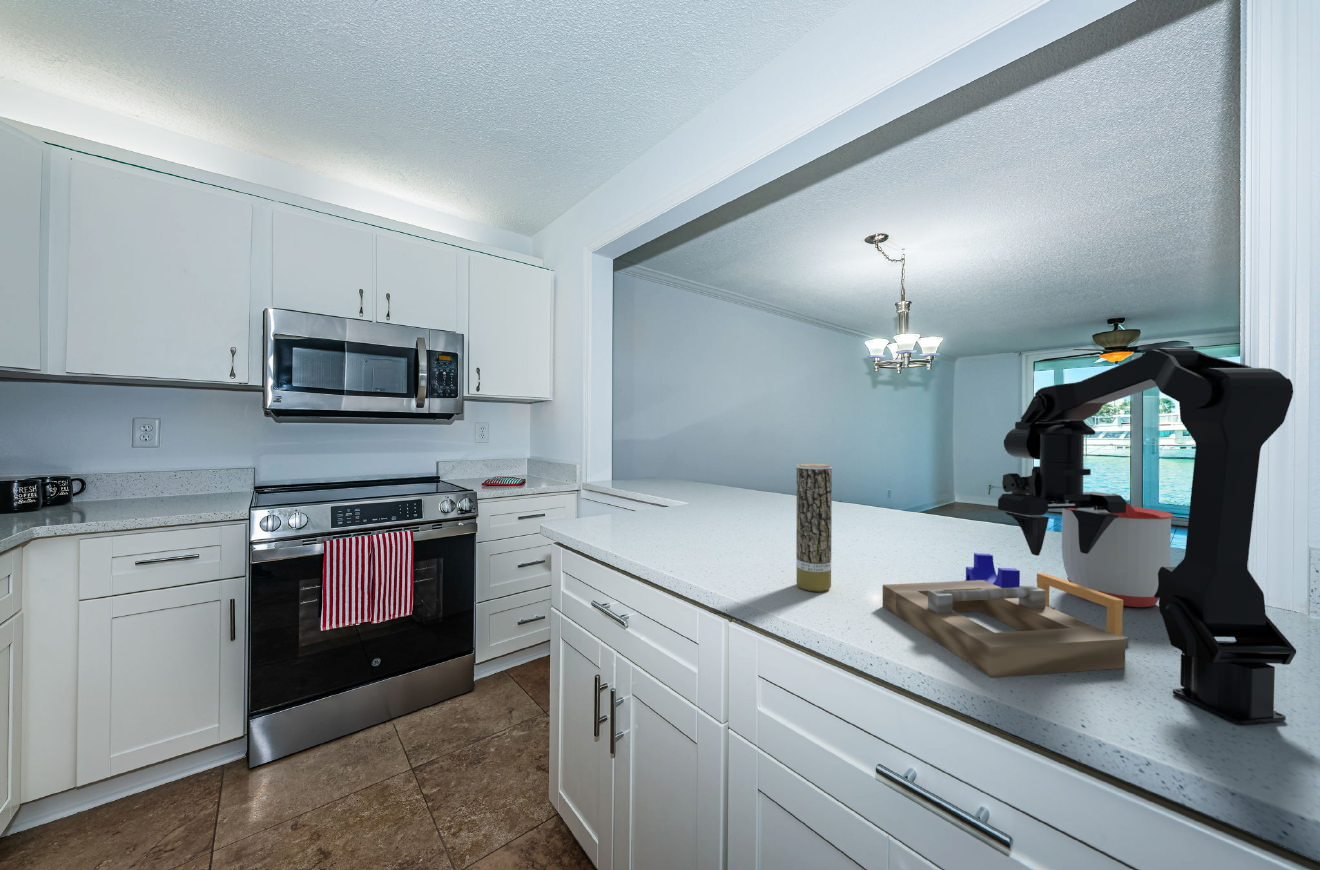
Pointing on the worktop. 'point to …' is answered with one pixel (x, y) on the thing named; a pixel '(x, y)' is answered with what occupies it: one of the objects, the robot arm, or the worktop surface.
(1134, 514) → the citrus juicer
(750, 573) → the worktop surface
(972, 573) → the cable clip
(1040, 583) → the orange staple arch
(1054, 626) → the wooden picture frame
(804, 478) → the paper tube
